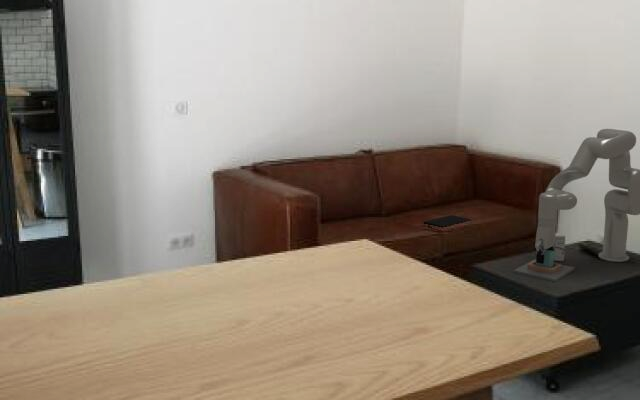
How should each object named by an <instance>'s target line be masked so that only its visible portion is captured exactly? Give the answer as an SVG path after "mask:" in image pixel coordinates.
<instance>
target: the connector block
mask: <svg viewBox="0 0 640 400" xmlns="http://www.w3.org/2000/svg"><path fill="white" fill-rule="evenodd" d="M540 250H541V251H542V249H540ZM543 255H544V263H543V264H541V263H537V262H536V265H537V266H542V267H546V268H553V264H554V263H555V262H554V251H551V250H545V251H544V254H543Z"/></svg>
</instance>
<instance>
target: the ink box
mask: <svg viewBox="0 0 640 400" xmlns="http://www.w3.org/2000/svg"><path fill="white" fill-rule="evenodd" d="M555 237H556V240H555V245H554V246H555V248H554V261H555V262H556V261H557V262H559V261H560V262H564V261H565V250H566V249H565V248H566V236H565V234H563V233H561V232H560V233H559V232H556V235H555ZM543 248H544V247H543Z"/></svg>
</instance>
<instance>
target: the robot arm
mask: <svg viewBox="0 0 640 400" xmlns="http://www.w3.org/2000/svg"><path fill="white" fill-rule="evenodd" d="M636 142H637V137H636V135H635V133H633V132H632V131H629V130H622V129H614V128H603V129H600V130H599V131H598V132H597V134H596V137H594V136H593V137H591V136H590V137H586V138H585V139H584V140H583V141H582V142H581V144H580V146H579V148H578V149H577V151H576V153H575V155H574V157H572V160H571V161H570V163H569V165H568V167H566V168H564V169H563V170H561V171H560V172H559V173H557V174H555V176H554V177H553V178H552V179H551V181H550V183H549V184H548V186H547V188H546V189H545V191H544V192H541V193H540V194H539V197H538V213H537V214H538V217H537V229H536V233H535V234H536V235H535V246H534V248H535V253H536V257H535V259H536V262H537V263H541V264H543V263H544V255H543V254H544V251H545V250H551V251H554V248H555V246H554V245H555V240H556V237H555V235H556V233H557V232H556V227H557V226H558V225H557V223H558V222H557V221H558V211H559V210H561V211H568V210H572V209H573V208H575V207H576V206H577V203H578V198H577V196H576V195H575V194H574V193H573V192H568V191H565V190H563V188H564V187H566V186H567V185H568V184H570V183H571V182H573V181H576V180H579V179H580V180H581V179H583V178H585V177H588V175H589V174H590V172H591V171H592V169H593V167H594V165H595V164H596V162H597V161H598V159H601V160H608V181H609V185H611V186H613V187H614V189H611V190H608V191H607V192H606V193H605V196H604V197H603V198H604V199H603V203H604V209H605V210H604V213H605V217H604V218H605V219H604V231H603V244H602V251H601V252H599V253H598V257H599V258H600V260H603V261H604V260H605V261H609V262H613V263H614V262H615V263H621V262H624V263H625V262H627V261H629V260H630V256H629V255H628V254H627V253H626V250H627V242H628V231H629V217H628V215H632V216H638V215H639V216H640V169H639V168H634V167H631V166H632V165H631V152H630V151H631V150H632V149H633V148H634V147H635V146H636V144H637V143H636ZM615 188H617V189H615ZM622 189H624V190H622ZM543 247H544V248H543ZM540 249H542V251H541V250H540Z"/></svg>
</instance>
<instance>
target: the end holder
mask: <svg viewBox="0 0 640 400" xmlns="http://www.w3.org/2000/svg"><path fill="white" fill-rule="evenodd" d="M575 269H576V267H575V266H570V265H564V264H562V263H558V262H557V263H556V262H554V264H553V268H546V267H542V266H537V265H536V258H534V259H533V260H531V261H529V262H527V263H525V264H524V265H521V266H519V267H517V268H516V269H514V270H513V273H515V274H519V275H524V276H529V277H533V278H537V279H541V280H546V281H551V282H554V281H555V282H557V281H559V280H560V279H562V278H563V277H565V276H566V275H568V274H570V273H572V271H573V272H574V270H575Z"/></svg>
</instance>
